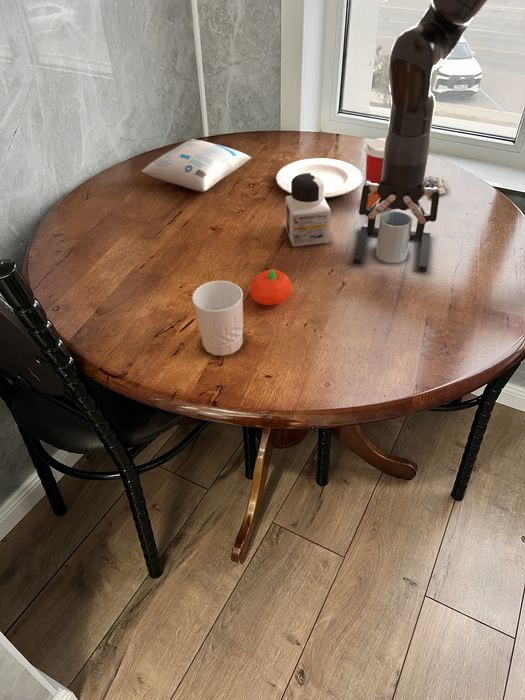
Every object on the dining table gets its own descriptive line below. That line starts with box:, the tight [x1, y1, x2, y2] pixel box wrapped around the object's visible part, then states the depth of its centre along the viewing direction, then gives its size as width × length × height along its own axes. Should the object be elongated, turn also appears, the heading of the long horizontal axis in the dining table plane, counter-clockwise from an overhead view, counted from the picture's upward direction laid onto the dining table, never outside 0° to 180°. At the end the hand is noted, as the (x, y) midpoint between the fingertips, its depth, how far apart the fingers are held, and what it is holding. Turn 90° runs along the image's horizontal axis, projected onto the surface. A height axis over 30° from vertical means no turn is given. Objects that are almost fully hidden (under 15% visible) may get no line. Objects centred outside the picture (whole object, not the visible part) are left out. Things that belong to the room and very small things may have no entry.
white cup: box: [191, 280, 244, 357], centre depth 88 cm, size 8×8×10 cm
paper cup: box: [364, 137, 389, 211], centre depth 118 cm, size 8×8×14 cm
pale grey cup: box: [375, 210, 414, 264], centre depth 105 cm, size 6×6×8 cm
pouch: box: [141, 138, 252, 193], centre depth 133 cm, size 8×19×20 cm
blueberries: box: [423, 175, 446, 196], centre depth 127 cm, size 7×8×2 cm
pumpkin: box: [249, 268, 292, 306], centre depth 97 cm, size 7×8×6 cm
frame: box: [352, 225, 431, 273], centre depth 109 cm, size 14×12×1 cm
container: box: [285, 173, 331, 248], centre depth 110 cm, size 8×8×13 cm
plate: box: [275, 157, 363, 199], centre depth 131 cm, size 21×21×2 cm
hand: (394, 235), depth 105 cm, fingers open, 8 cm apart
